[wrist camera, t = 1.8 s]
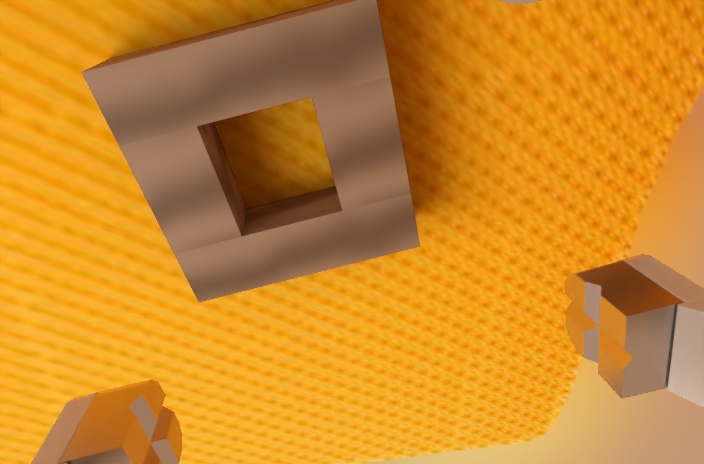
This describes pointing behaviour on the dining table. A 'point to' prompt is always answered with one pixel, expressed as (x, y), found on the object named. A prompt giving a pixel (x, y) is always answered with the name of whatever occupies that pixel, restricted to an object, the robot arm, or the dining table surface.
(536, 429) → the dining table surface
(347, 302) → the dining table surface
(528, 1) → the handle
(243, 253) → the socket block
